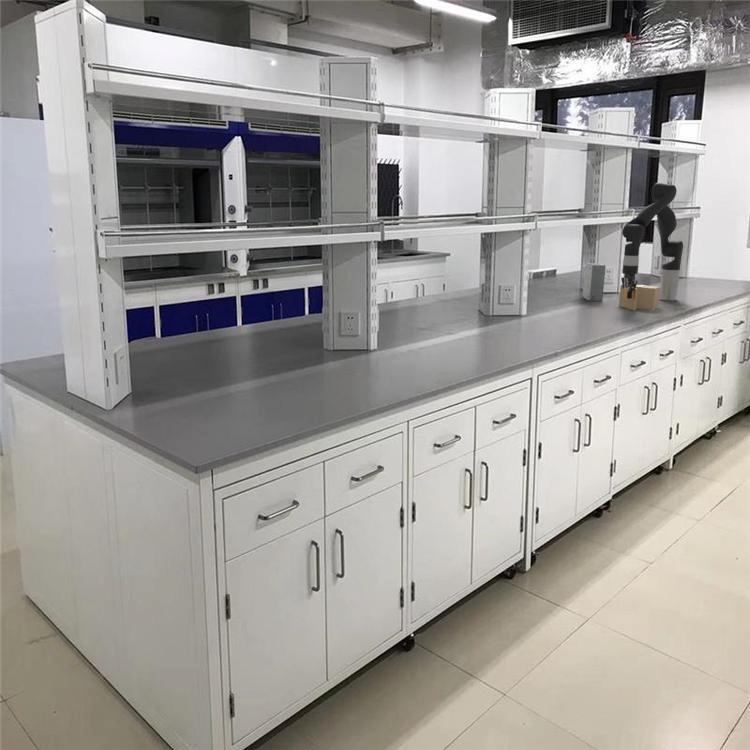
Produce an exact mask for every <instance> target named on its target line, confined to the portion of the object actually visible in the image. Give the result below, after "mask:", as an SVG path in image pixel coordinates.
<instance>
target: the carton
mask: <svg viewBox="0 0 750 750" xmlns="http://www.w3.org/2000/svg"><path fill="white" fill-rule="evenodd" d="M633 288H634V287H633ZM636 289H638V295H637V305H636V309H644V310H653V311H654V310H656V309H659V307H660V290H661V287H660V286H655V285H646V284H637V285H636Z"/></svg>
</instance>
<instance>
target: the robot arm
mask: <svg viewBox="0 0 750 750" xmlns="http://www.w3.org/2000/svg"><path fill="white" fill-rule="evenodd" d="M676 195H677V187H676V185H674V184H670V183H664V182H656V183H655V184H653V186H652V189H651V198H652V203H651V204H649V205H647V206H645V207H644V208H643V209H642V210H640V212H638V214H637V216H635V218H632V219H631V220H629V222H627V223H625V225H624V226H623V228H622V236H623V237H624V238H625V239H632V241H631V242H630V243H626V244H625V246H624V255H623V260H622V271H621V272H622V274H624V275H623V277H621V279H620V280H621V285H622V287H623V289H624V290H625V288H628V293H627V298H628V299H631V298H632V291H634V290H635V288H636V285H638V280H637V279H636V275H638V273H639V263H640V247H641V244H642V242H643V238H644V236H645V228H646V227H648V226H649V224H650V223H651V221H652V220H653V219H654V218H655V217H656V221H657V226H658V232H659V236H660V251H661V254H662V257H666V258H674V259H673V260H672V261H669V262H666V263H663V264H662V268H661V277H660V286H659V287H661V290H660V300H661V301H669V302H670V301H673V302H674V301H677V299H678V298H677V297H678V289H679V279H680V271H681V265H682V256H683V251H684V242H683V241H682V240H673V239H671V240H670V239H669V238H670V236H671V235H672V234H673V233H674V232H675V230H676V227H677V225H678V224H677V217H676V214H675V212H674V211H673V210H672V208H671V207H670V206H669V205H670V204H671V203H672V202H673V201H674V199H675V198H676ZM633 287H634V288H633ZM660 300H659V301H660Z"/></svg>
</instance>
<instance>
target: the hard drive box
mask: <svg viewBox="0 0 750 750" xmlns="http://www.w3.org/2000/svg"><path fill="white" fill-rule="evenodd" d="M584 264H585V265H584V277H583V287H582V288H583V289H582V298H583V299H585V300H587V301H596V302H598V301H599V302H600V301H601V302H602V301H603V297H604V286H605V277H606V276H605V275H606V267H607V266H606V265H605V264H602V263H597V262H585V263H584Z"/></svg>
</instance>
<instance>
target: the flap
mask: <svg viewBox="0 0 750 750" xmlns="http://www.w3.org/2000/svg"><path fill="white" fill-rule="evenodd" d="M619 289H620V290H619V298H618V299H619V300H618V306H619V307H622V308H625V309H628V310H632V311H636V310H637V308H636V305H637V295H638V289H636V288H635V290H634V291H632V298H631V299H628V298H627V293H628V288H625V290H624V289H623V287H622V284H620V288H619Z"/></svg>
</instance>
